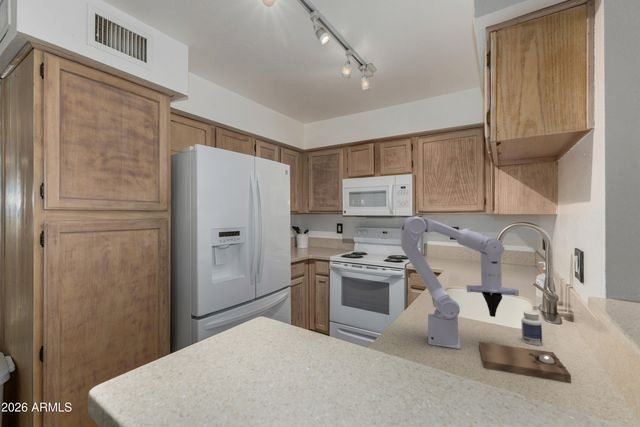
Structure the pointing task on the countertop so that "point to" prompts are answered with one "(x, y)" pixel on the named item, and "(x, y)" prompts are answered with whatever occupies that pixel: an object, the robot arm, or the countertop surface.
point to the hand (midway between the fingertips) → (492, 315)
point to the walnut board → (522, 362)
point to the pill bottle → (531, 328)
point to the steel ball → (546, 359)
